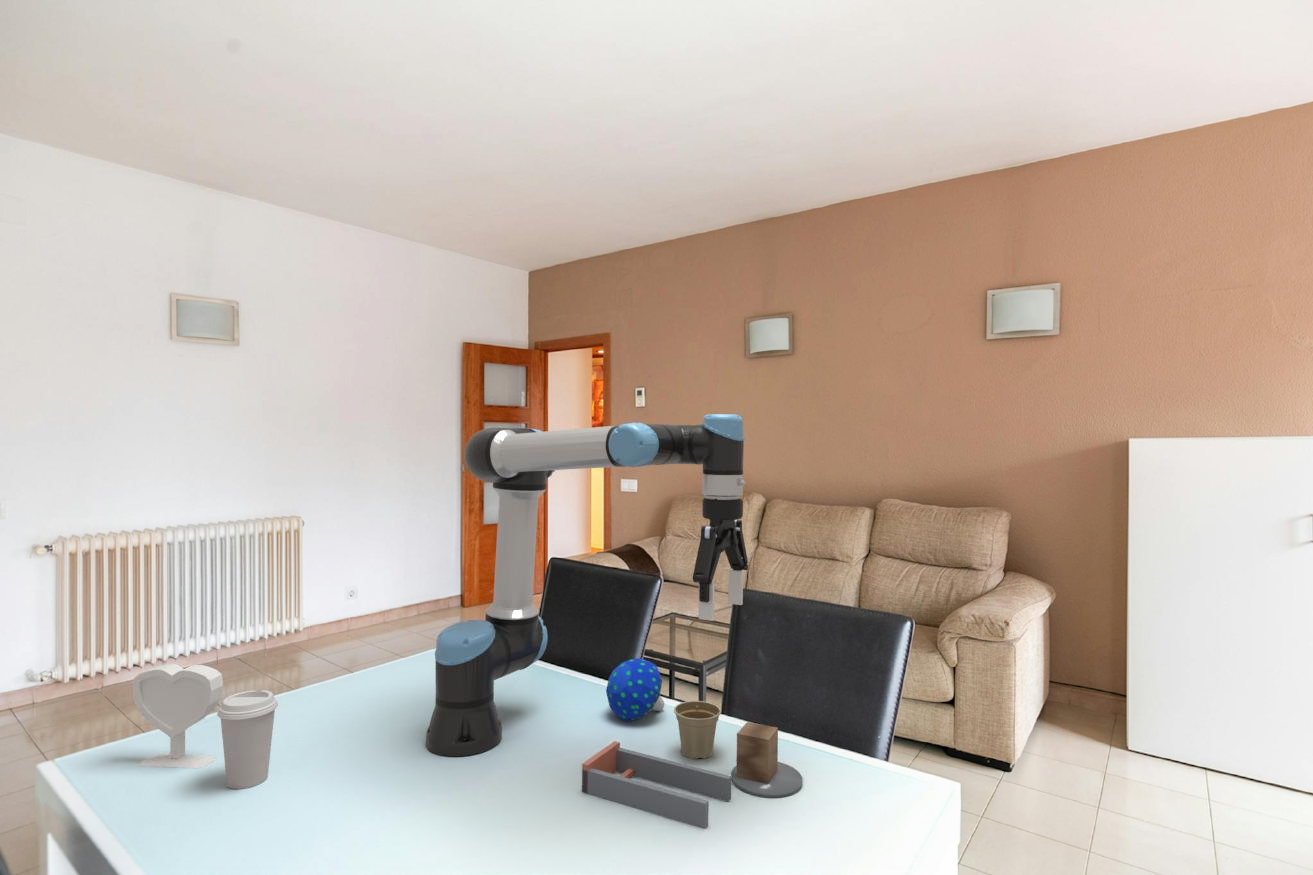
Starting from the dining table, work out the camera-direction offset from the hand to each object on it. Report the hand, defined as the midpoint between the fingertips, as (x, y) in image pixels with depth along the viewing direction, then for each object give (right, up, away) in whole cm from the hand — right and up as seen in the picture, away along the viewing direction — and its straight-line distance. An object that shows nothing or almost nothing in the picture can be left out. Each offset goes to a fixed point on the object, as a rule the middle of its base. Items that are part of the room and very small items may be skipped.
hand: (721, 611), depth 132 cm
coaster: (+8, -31, -1) cm, 32 cm away
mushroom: (-17, -31, +28) cm, 45 cm away
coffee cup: (-86, -30, -3) cm, 91 cm away
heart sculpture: (-104, -30, +4) cm, 108 cm away
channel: (-12, -31, -7) cm, 34 cm away
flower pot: (-4, -31, +10) cm, 33 cm away
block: (+7, -30, 0) cm, 31 cm away
